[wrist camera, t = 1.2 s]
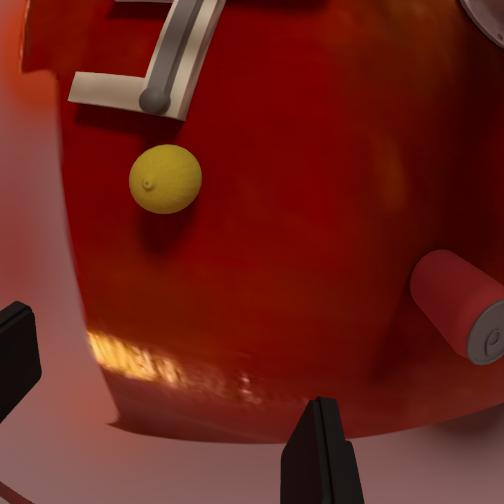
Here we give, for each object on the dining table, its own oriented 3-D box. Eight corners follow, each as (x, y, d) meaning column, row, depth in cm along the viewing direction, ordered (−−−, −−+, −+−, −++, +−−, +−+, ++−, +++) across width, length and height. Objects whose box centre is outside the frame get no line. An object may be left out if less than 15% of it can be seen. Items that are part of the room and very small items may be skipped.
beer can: (404, 310, 30) (453, 379, 19) (409, 249, 29) (471, 300, 17) (455, 303, 30) (513, 361, 18) (462, 245, 28) (533, 288, 16)
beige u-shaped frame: (126, -21, 22) (110, -37, 18) (232, -16, 22) (226, -37, 18) (80, 104, 27) (56, 99, 23) (184, 122, 27) (169, 116, 23)
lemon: (196, 136, 27) (167, 129, 20) (219, 192, 29) (198, 205, 21) (144, 161, 28) (102, 164, 21) (166, 214, 29) (130, 234, 22)
